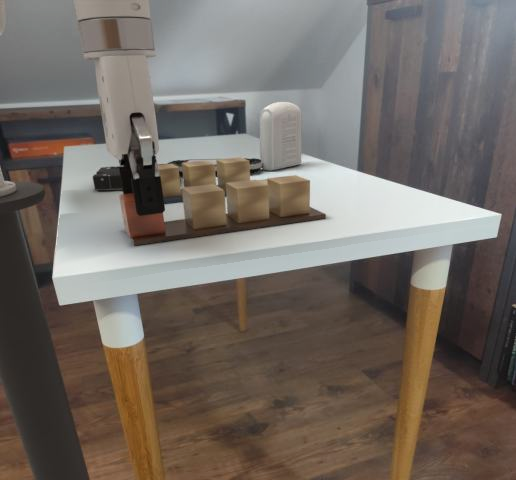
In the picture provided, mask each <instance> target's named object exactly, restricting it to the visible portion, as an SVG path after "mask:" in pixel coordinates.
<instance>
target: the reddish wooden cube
mask: <svg viewBox="0 0 516 480" xmlns="http://www.w3.org/2000/svg"><path fill="white" fill-rule="evenodd" d="M118 196H119V203H120V208H121V215H122V221H123V227H124V230H126V231H125V233H126V234H127V233H128V234H127V236H128V235H129V236H128V238H129V239H130V238H135V237H142V236H150V235H157V234H164V233H166V232H165V224H164V222H165V217H164V212H163V213H158V214H151V215H143V216H139V215H138V214H137V213H136V207H135V201H134V195H133V193H129V194H123V193H122V194H119V195H118Z"/></svg>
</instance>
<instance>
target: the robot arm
mask: <svg viewBox="0 0 516 480" xmlns="http://www.w3.org/2000/svg"><path fill="white" fill-rule="evenodd" d="M72 1H73V7H74V10H75V16H76V21H77V27H78V32H79V39H80V43H81V49H82V55H83V59H84V60H85V61H94V71H95V79H96V88H97V95H98V99H99V100H98V101H99V107H100V114H101V120H102V126H103V133H104V141H105V145H106V150H107V152H108V153H109V154H110V155H111V156H113V157H114V158H115V159H116V160H118V164H119V165H118V166H120V167H119V172H120V178H121V183H122V189H123V190H122V194H129V193H133V195H134V201H135V207H136V213H137V214H138V215H139V216H143V215H151V214H158V213H163V214H164V212H165V211H166V207H165V204H164V199H163V191H162V184H161V176H160V174H159V168H158V164H159V163H158V160H157V156H156V155H158V153H159V151H160V143H159V132H158V123H157V116H156V109H155V101H154V96H153V90H152V89H153V88H152V84H151V76H150V71H149V65H148V60H147V59H148V58H155V57H156V56H157V55H156V48H155V40H154V32H153V24H152V17H151V10H150V8H151V7H150V2H149V1H150V0H72ZM6 23H7V11H6V2H5V0H0V37H1V36H2V35H3V33H4V31H5V30H6V29H5V28H6ZM123 166H124V167H123ZM13 182H14V181H10V180H5V178H4V175H3V170H2V168H1V166H0V197H3V196H6V195H9V194H12V193H14V192H15V191H16V190H17V188H16V185H15V183H13Z"/></svg>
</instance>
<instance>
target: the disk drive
mask: <svg viewBox="0 0 516 480" xmlns="http://www.w3.org/2000/svg"><path fill="white" fill-rule="evenodd" d="M157 164H158V165H164V164H165V163H160V164H159V163H157ZM173 165H175V166H177V164H173ZM119 167H120V165H118V166H102V167H100V168H99V169H98V170H97V171H96V173H94V174H93V176H92V182H93V186H94V190H95V191H123V189H122V183H121V178H120V172H119ZM123 167H124V166H123ZM177 167H178V166H177Z"/></svg>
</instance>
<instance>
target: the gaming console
mask: <svg viewBox="0 0 516 480" xmlns="http://www.w3.org/2000/svg"><path fill="white" fill-rule="evenodd" d="M242 158H243V157H242ZM217 159H218V158H199V159H197V158H195V159H193V158H192V159H177V160H172V161H169V162H167V163H166V164H177V166H178V168H179V177H183V170H182V163H185V162H196V161H209V162H211V163H213V164H215V174H216V176H217V163H216V160H217ZM243 159H246V160H249V163H250V175H253V174H255V173H257V172H259V171H260V170H261V169H262V168H261V167H262V161H261V160H260V158H255V157H253V158H247V157H245V158H243Z"/></svg>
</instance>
